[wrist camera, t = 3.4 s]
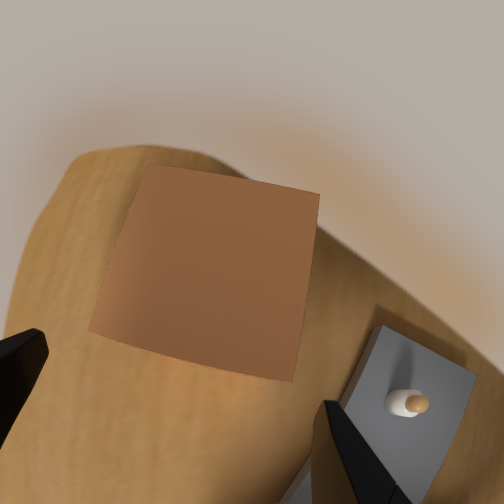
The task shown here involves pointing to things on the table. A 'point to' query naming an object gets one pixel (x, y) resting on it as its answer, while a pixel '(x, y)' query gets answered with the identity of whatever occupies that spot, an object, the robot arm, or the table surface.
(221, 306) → the orange brown rectangular block
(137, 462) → the table surface
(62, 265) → the table surface
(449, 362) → the plate
